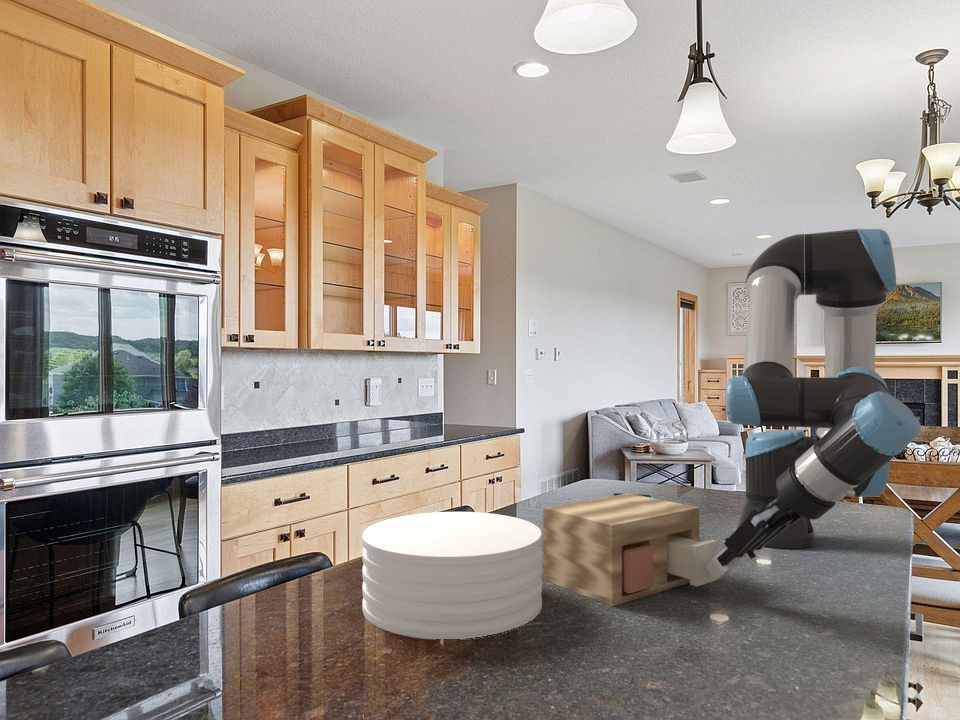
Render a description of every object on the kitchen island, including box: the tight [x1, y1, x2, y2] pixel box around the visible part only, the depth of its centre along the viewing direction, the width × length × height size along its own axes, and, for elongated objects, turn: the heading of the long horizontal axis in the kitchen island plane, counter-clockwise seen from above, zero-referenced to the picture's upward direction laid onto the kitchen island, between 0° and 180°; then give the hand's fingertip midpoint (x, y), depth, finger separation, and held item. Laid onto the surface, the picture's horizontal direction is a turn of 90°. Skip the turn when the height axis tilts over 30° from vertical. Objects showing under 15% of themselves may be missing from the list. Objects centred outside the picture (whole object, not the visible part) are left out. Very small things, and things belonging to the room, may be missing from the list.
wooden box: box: [542, 492, 700, 607], centre depth 115 cm, size 16×22×12 cm
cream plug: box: [667, 534, 718, 588], centre depth 115 cm, size 17×6×6 cm, turn 36°
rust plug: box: [622, 545, 653, 593], centre depth 112 cm, size 17×6×6 cm, turn 36°
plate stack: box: [361, 511, 543, 640], centre depth 104 cm, size 28×28×12 cm
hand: (712, 571), depth 107 cm, fingers closed
